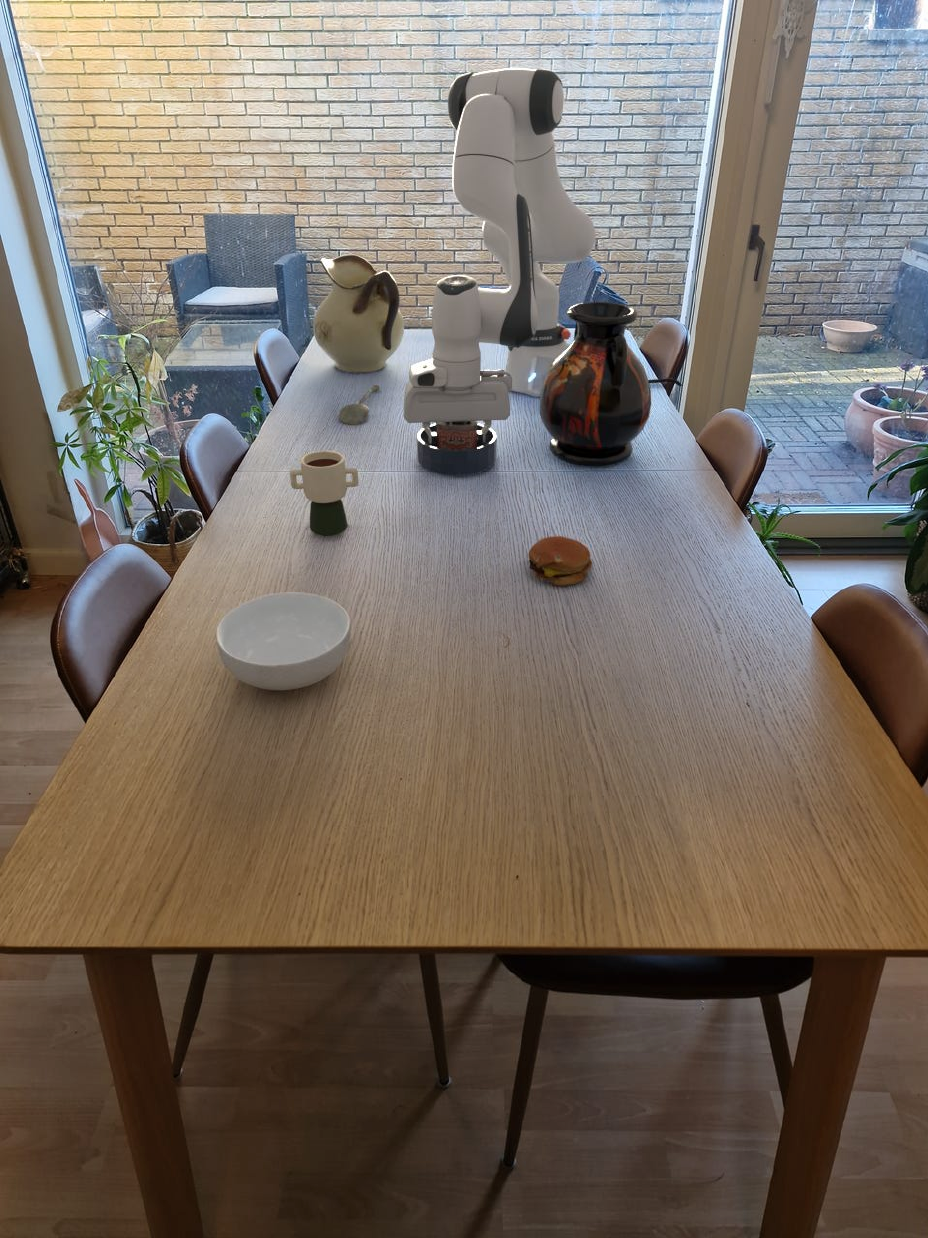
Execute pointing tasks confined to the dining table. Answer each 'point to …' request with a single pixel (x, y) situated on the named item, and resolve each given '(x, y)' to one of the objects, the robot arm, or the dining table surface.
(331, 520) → the character mug
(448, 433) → the lighter
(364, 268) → the pitcher
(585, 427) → the amphora vase
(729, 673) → the dining table surface
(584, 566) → the burger
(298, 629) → the cereal bowl
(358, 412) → the soupspoon
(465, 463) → the bowl
